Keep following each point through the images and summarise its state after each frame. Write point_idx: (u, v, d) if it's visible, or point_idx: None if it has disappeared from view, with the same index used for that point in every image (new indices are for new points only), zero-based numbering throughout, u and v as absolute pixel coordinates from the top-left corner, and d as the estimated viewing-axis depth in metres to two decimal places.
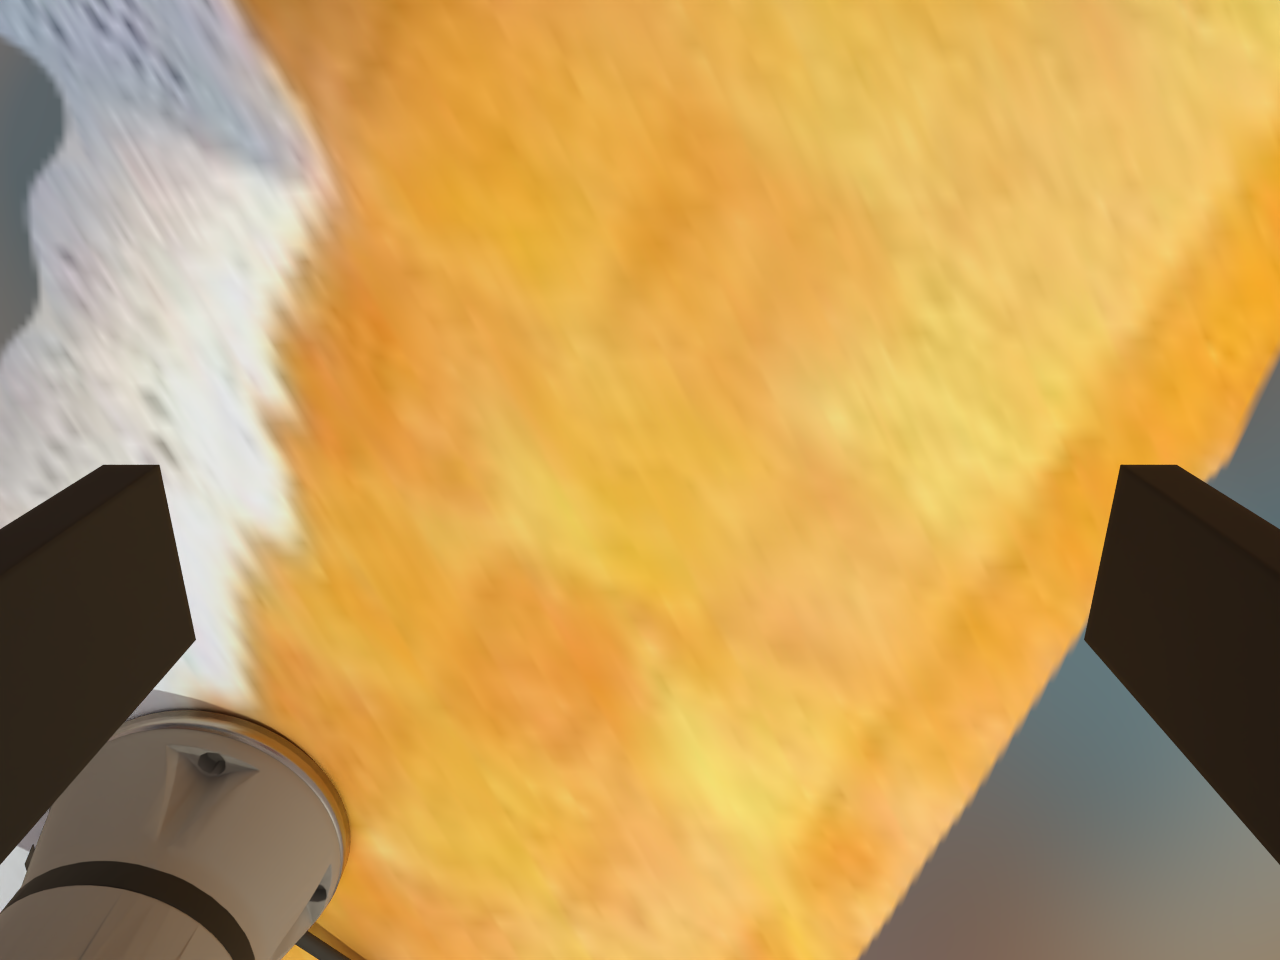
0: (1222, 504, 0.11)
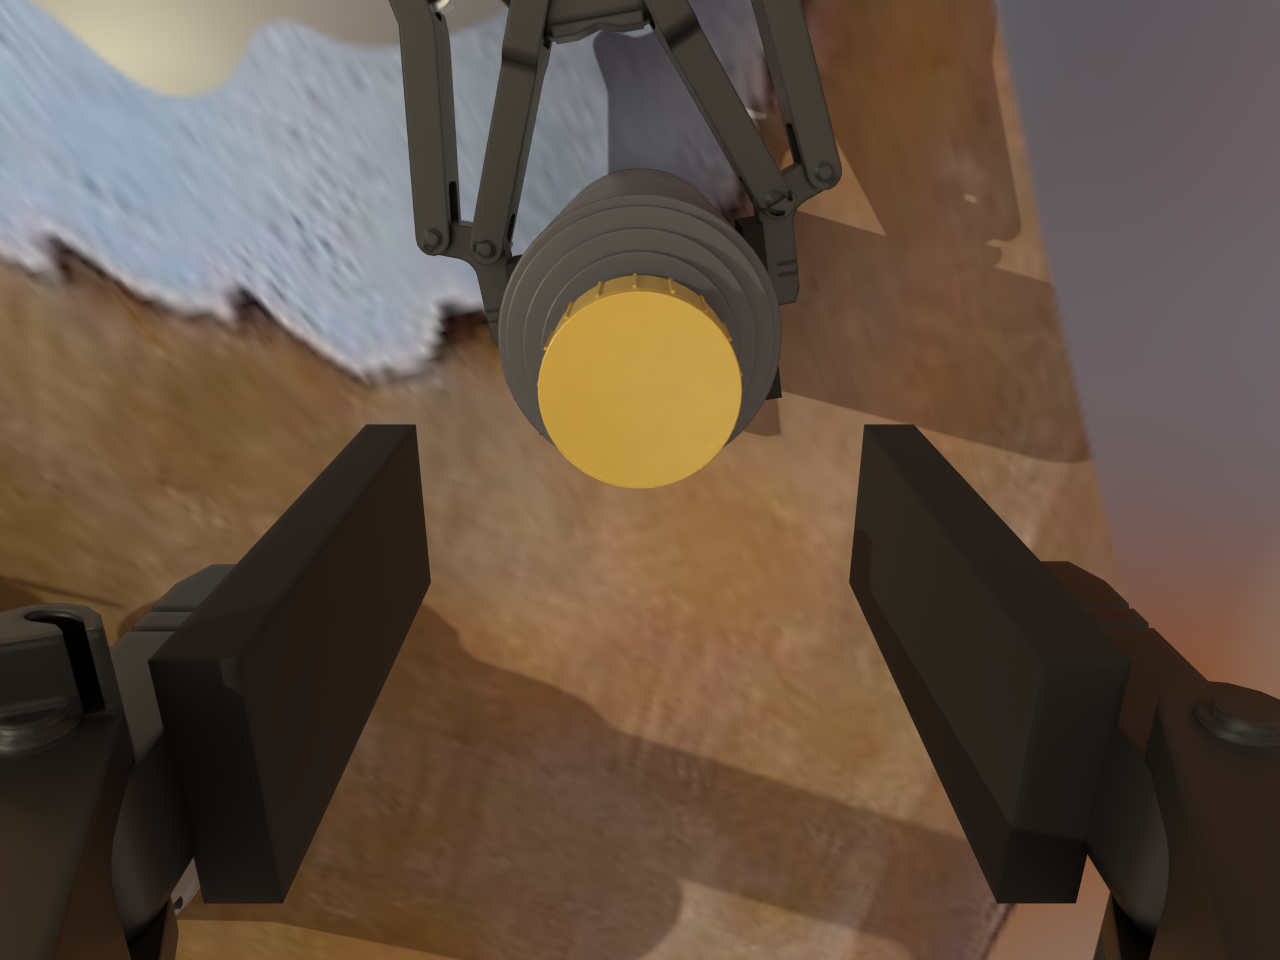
0: (925, 454, 0.12)
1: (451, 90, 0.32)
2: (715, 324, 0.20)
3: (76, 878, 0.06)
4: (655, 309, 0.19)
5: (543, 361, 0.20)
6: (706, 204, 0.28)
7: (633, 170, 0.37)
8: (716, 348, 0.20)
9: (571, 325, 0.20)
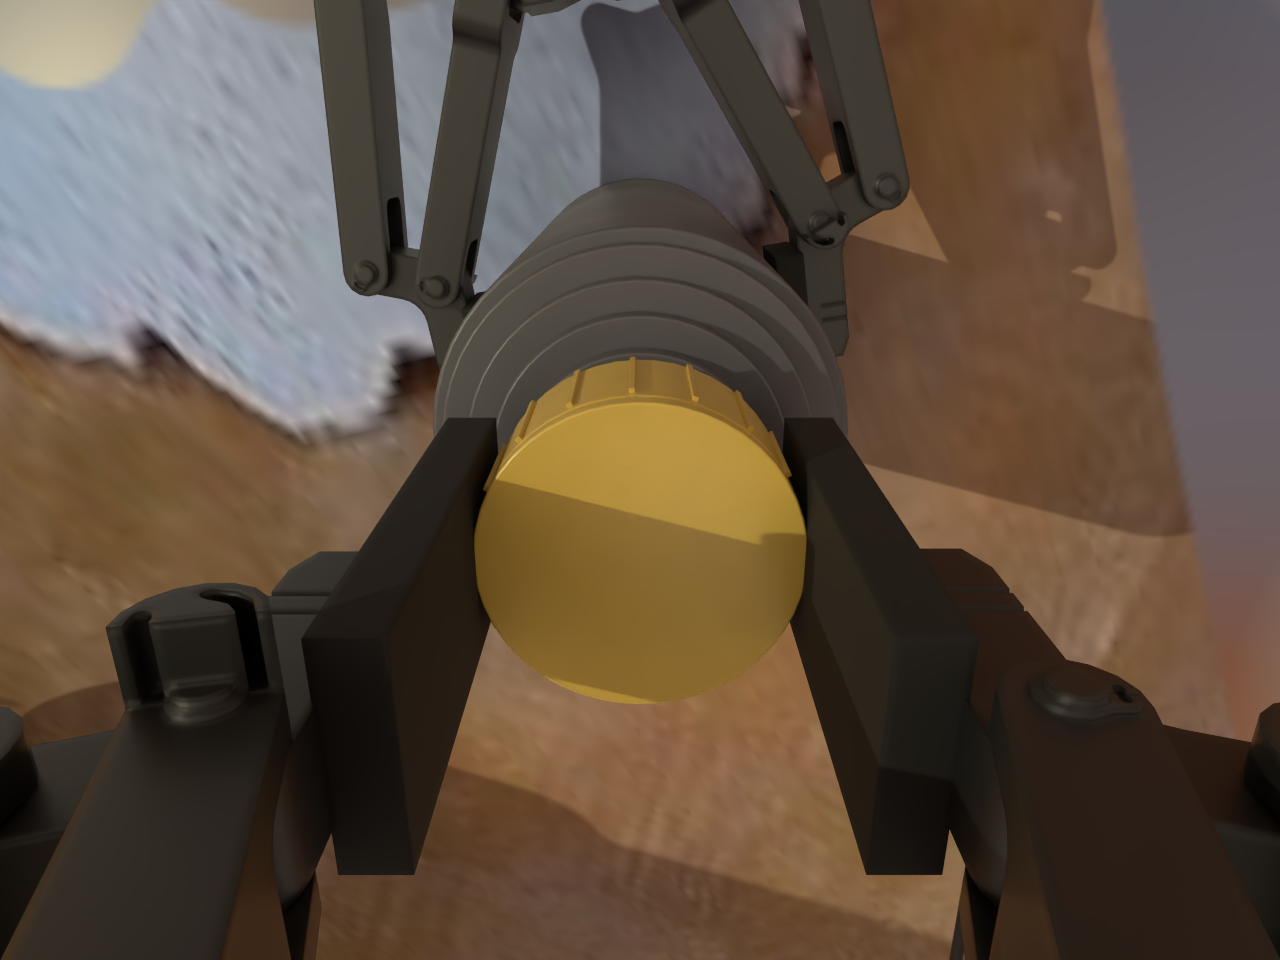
0: (836, 446, 0.13)
1: (391, 77, 0.24)
2: (767, 455, 0.12)
3: (246, 852, 0.06)
4: (666, 432, 0.12)
5: (480, 513, 0.12)
6: (733, 234, 0.20)
7: (631, 181, 0.29)
8: (768, 493, 0.12)
9: (526, 457, 0.12)
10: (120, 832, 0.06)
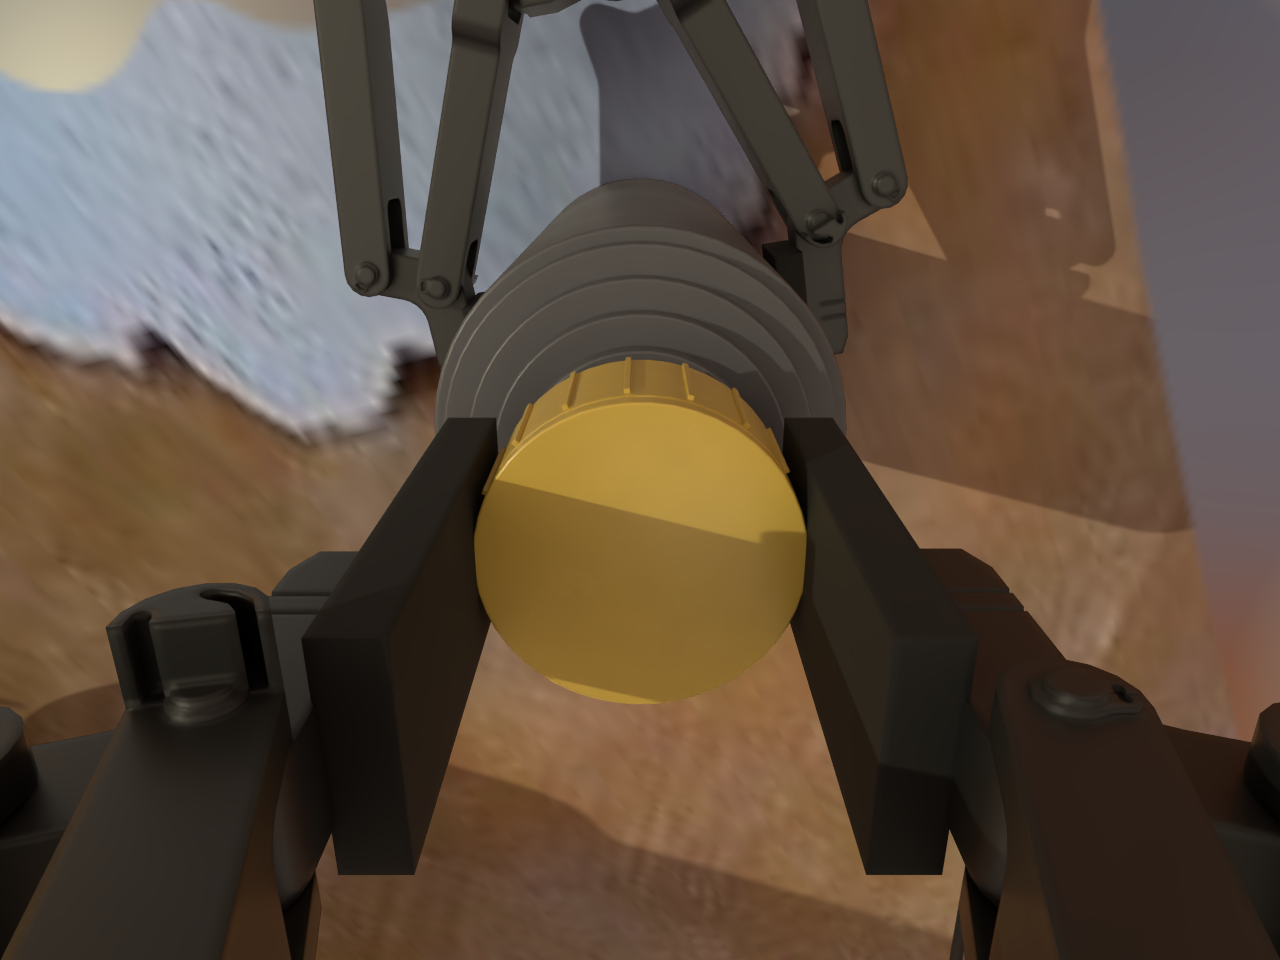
0: (836, 446, 0.13)
1: (391, 79, 0.25)
2: (490, 488, 0.12)
3: (246, 852, 0.06)
4: (501, 580, 0.12)
5: (635, 702, 0.13)
6: (732, 233, 0.20)
7: (631, 181, 0.29)
8: (526, 476, 0.12)
9: (569, 681, 0.13)
10: (120, 832, 0.06)
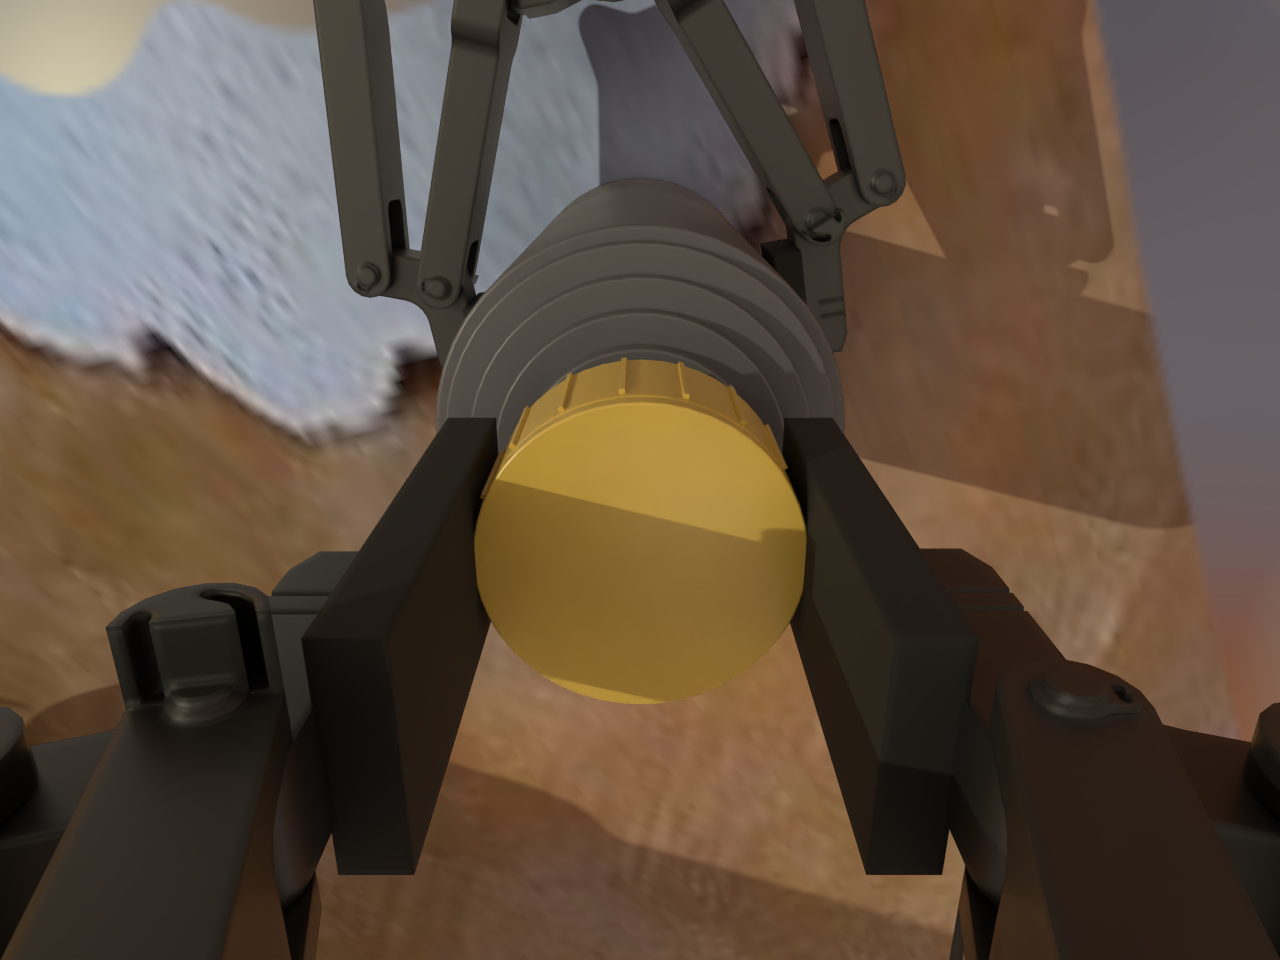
0: (836, 446, 0.13)
1: (391, 81, 0.25)
2: (609, 699, 0.13)
3: (247, 852, 0.06)
4: (697, 673, 0.13)
5: (803, 522, 0.12)
6: (730, 231, 0.20)
7: (630, 181, 0.29)
8: (586, 678, 0.13)
9: (793, 590, 0.12)
10: (120, 834, 0.06)
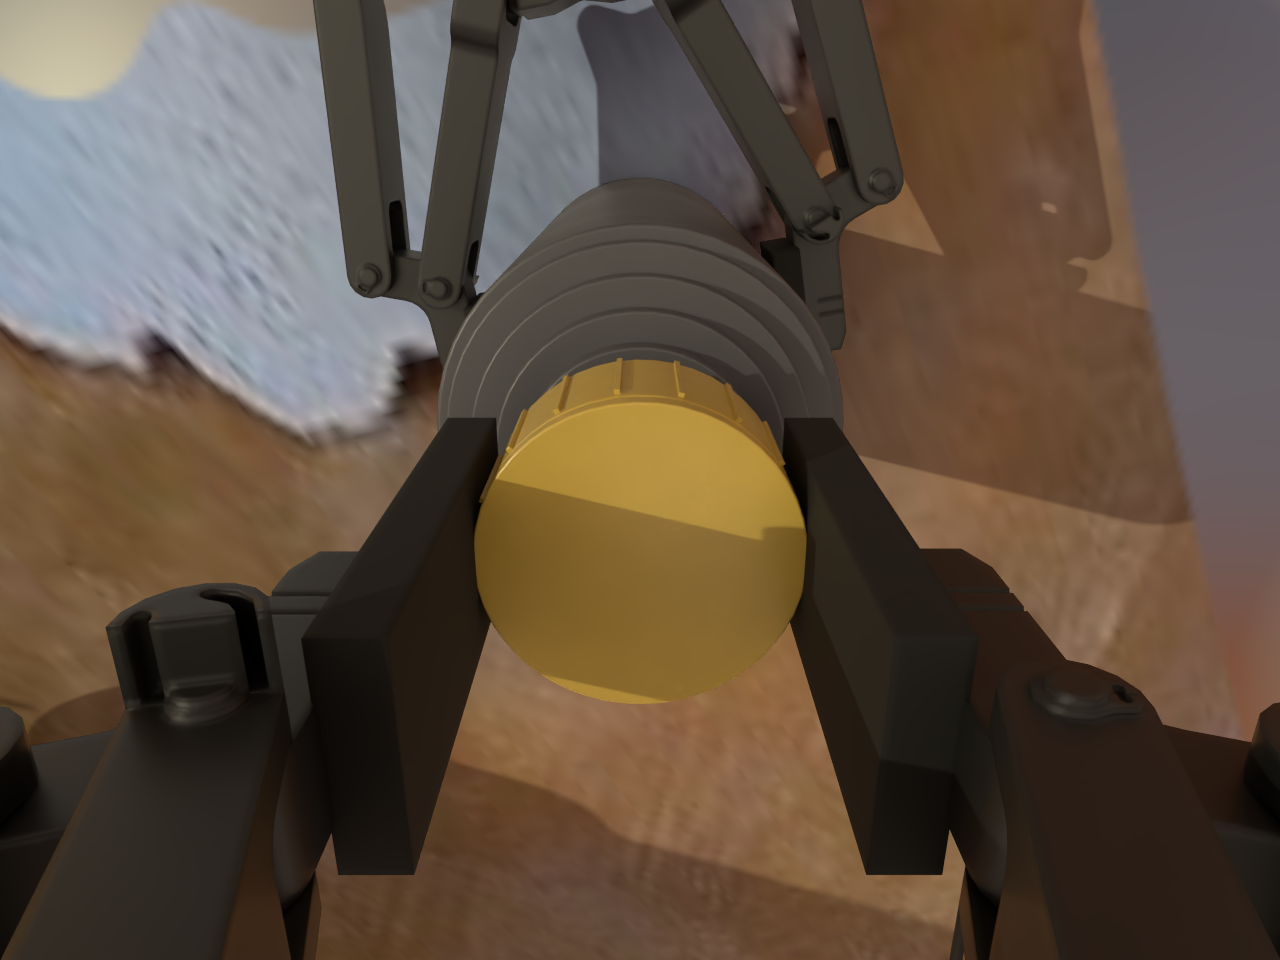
0: (836, 446, 0.13)
1: (391, 83, 0.25)
2: None
3: (246, 852, 0.06)
4: (749, 475, 0.12)
5: (544, 431, 0.12)
6: (729, 230, 0.20)
7: (630, 180, 0.30)
8: (784, 577, 0.12)
9: (622, 413, 0.11)
10: (121, 833, 0.06)
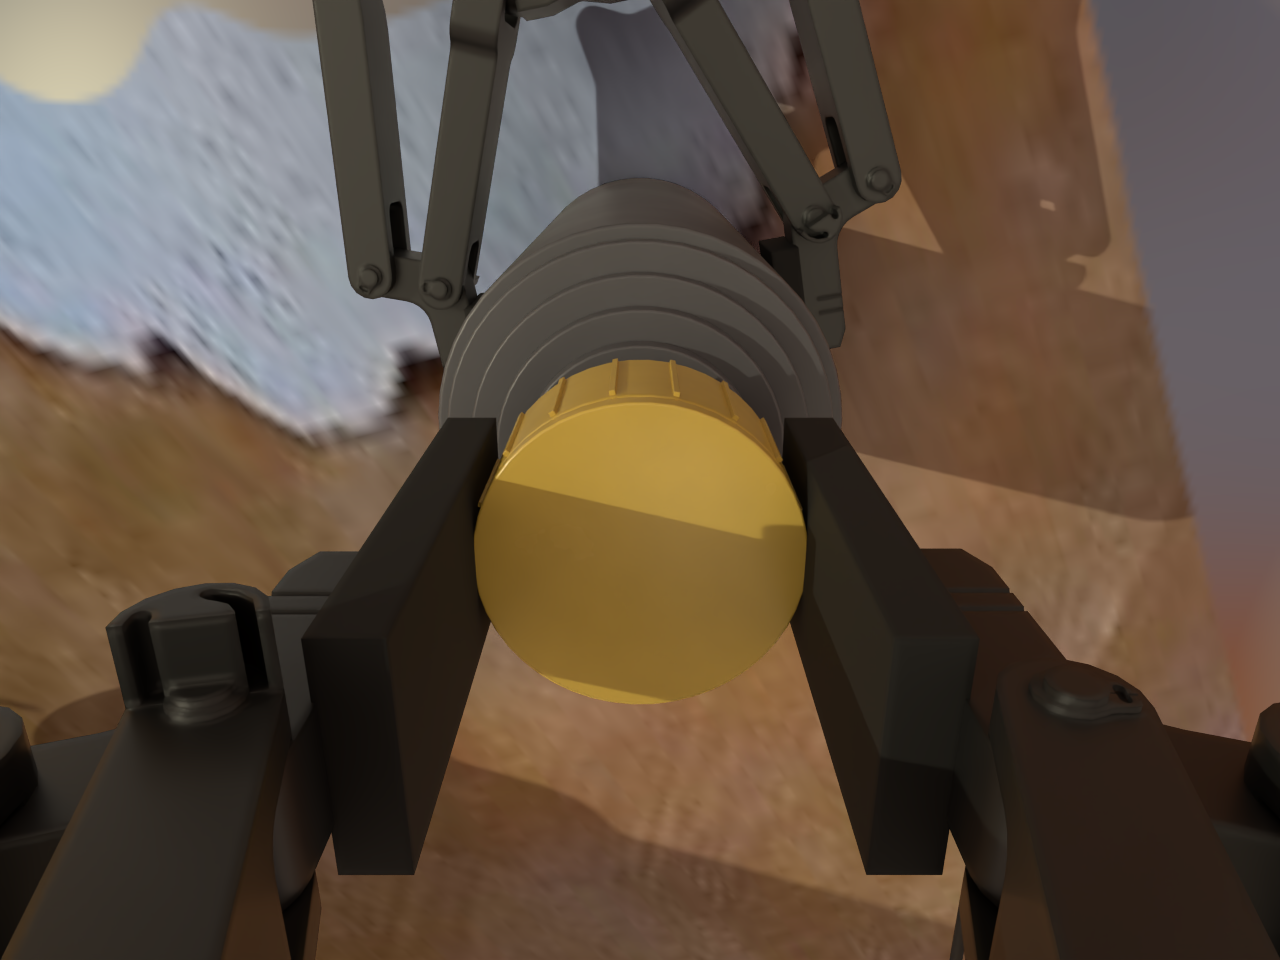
0: (836, 446, 0.13)
1: (391, 84, 0.25)
2: (569, 417, 0.11)
3: (246, 852, 0.06)
4: (514, 499, 0.12)
5: (540, 673, 0.13)
6: (727, 229, 0.20)
7: (629, 180, 0.30)
8: (609, 429, 0.11)
9: (499, 619, 0.13)
10: (120, 832, 0.06)
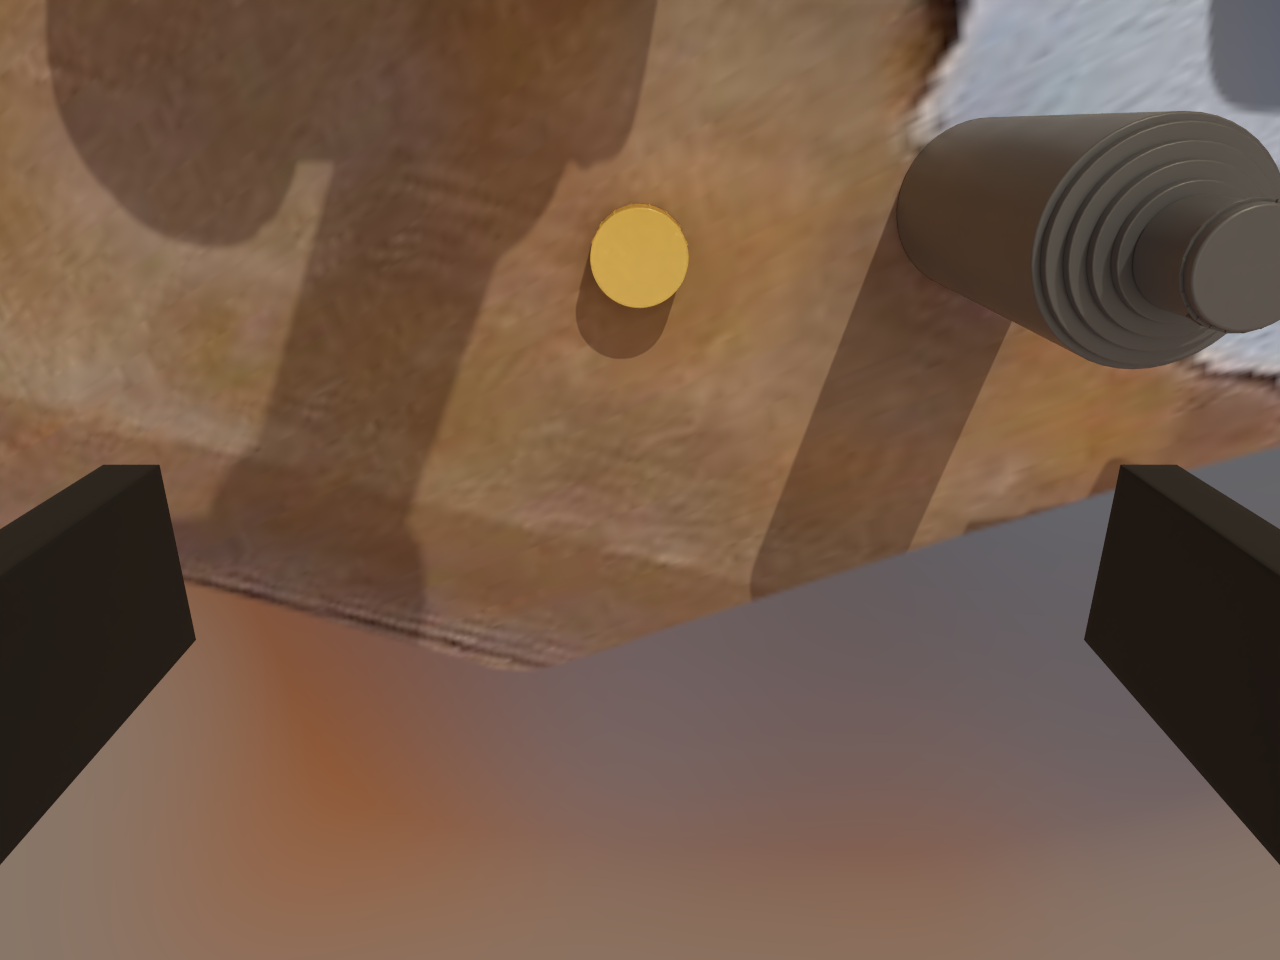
0: (1222, 504, 0.11)
1: None
2: (619, 212, 0.41)
3: None
4: (603, 237, 0.41)
5: (609, 296, 0.42)
6: None
7: None
8: (630, 215, 0.41)
9: (597, 277, 0.42)
10: None
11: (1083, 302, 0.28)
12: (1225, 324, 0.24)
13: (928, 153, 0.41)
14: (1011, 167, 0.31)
